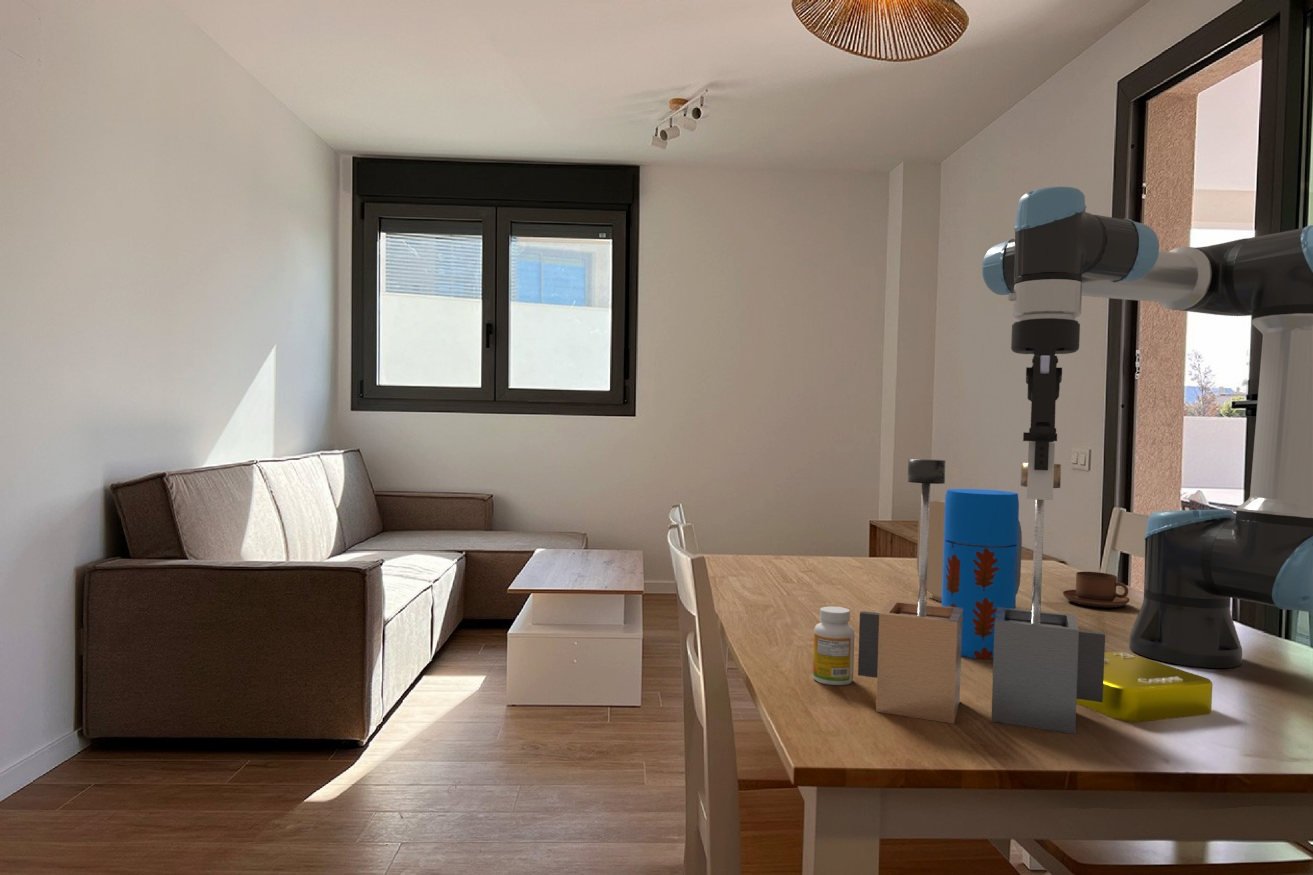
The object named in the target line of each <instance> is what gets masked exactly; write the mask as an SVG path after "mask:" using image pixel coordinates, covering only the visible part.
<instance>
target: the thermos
mask: <svg viewBox="0 0 1313 875" xmlns="http://www.w3.org/2000/svg"><path fill="white" fill-rule="evenodd" d="M945 494H946V498H945V497H944V501H945V516H944V539H945V540H944V547H943V578H942V602H941V606H950V607H959V608H963V615H962V645H961V657H965V658H972V659H981V660H982V659H983V660H993V657H994V627H995V617H996V611H997V607H1003V608H1013V609H1016V603H1017V601H1016V600H1017V597H1016V596H1017V594H1016V577H1017V548H1018V545H1017V543H1018V519H1019V516H1020V515H1019V514H1020V513H1019V511H1020V503H1019V501H1020V500H1019V493H1018V492H1013V491H1007V490H1006V491H1005V490H995V489H994V490H993V489H979V488H978V489H977V488H949V489H946V492H945Z"/></svg>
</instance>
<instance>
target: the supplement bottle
mask: <svg viewBox="0 0 1313 875" xmlns="http://www.w3.org/2000/svg"><path fill="white" fill-rule="evenodd" d="M819 619H820V622H819V623H817V624H816V625H815V626H814V629H813V630H814V631H813V634H814V635H813V655H812V656H813V662H812V677H813V679H814V680H815V681H816V682H817V683H819V684H824V685H828V686H846V685H849V684H851V683H852V682H853V681H854V660H855V659H854V658H855V656H854V655H855V629H854V627H853V626H852V625H850V624H849V622H850V619H851V611H850V609H848V608H845V607H841V606H823V607H822V606H821V607H820V610H819Z"/></svg>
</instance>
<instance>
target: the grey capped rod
mask: <svg viewBox="0 0 1313 875" xmlns="http://www.w3.org/2000/svg"><path fill="white" fill-rule="evenodd" d="M907 460H908V461H907V482H908V483H913V484H921V494H920V499H921V500H920V511H921V523H920V554H919V577H918V586H917V588H918V591H917V603H918V615H915V614H906V613H900V614H903V615H912V616H921V617H930V618H939V619H948V620H949V618H942V617H933V616H926V604H927V594H928V591H927V568H928V537H929V506H930V502H931V500H930V498H931V485H932V484H933V485H937V484H938V485H943V484H945V482H946V460H945V459H928V458H908V459H907Z"/></svg>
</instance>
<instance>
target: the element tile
mask: <svg viewBox="0 0 1313 875" xmlns="http://www.w3.org/2000/svg"><path fill="white" fill-rule="evenodd" d="M1076 704H1078V705H1081V706H1082V707H1083V706H1084V707H1086V708H1087V709H1090V710H1092V711H1095V712H1098V713H1099V714H1102V715H1105V716H1107V717H1110V718H1113V719H1115V720H1117V721H1118V720H1119V721H1123V722H1128V723H1144V722H1152V721H1160V720H1171V719H1179V718H1180V719H1181V718H1189V717H1198V716H1207V715H1210V714H1212V709H1213V708H1212V707H1213V706H1212V704H1213V682H1212V680H1211V679H1209V678H1208V677H1204V676H1202V675H1198V674H1195V673H1191V672H1189V671H1186V670H1183V669H1180V668H1176V667H1173V666H1170V665H1167V664H1165V663H1161V662H1158V661H1155V660H1151V659H1150V658H1149V659H1148V658H1144V657H1142V656H1139V655H1136V654H1133V653H1130V652H1125V651H1107V652H1105V653H1104V681H1103V702H1097V701H1090V700H1082V699H1076Z"/></svg>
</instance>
